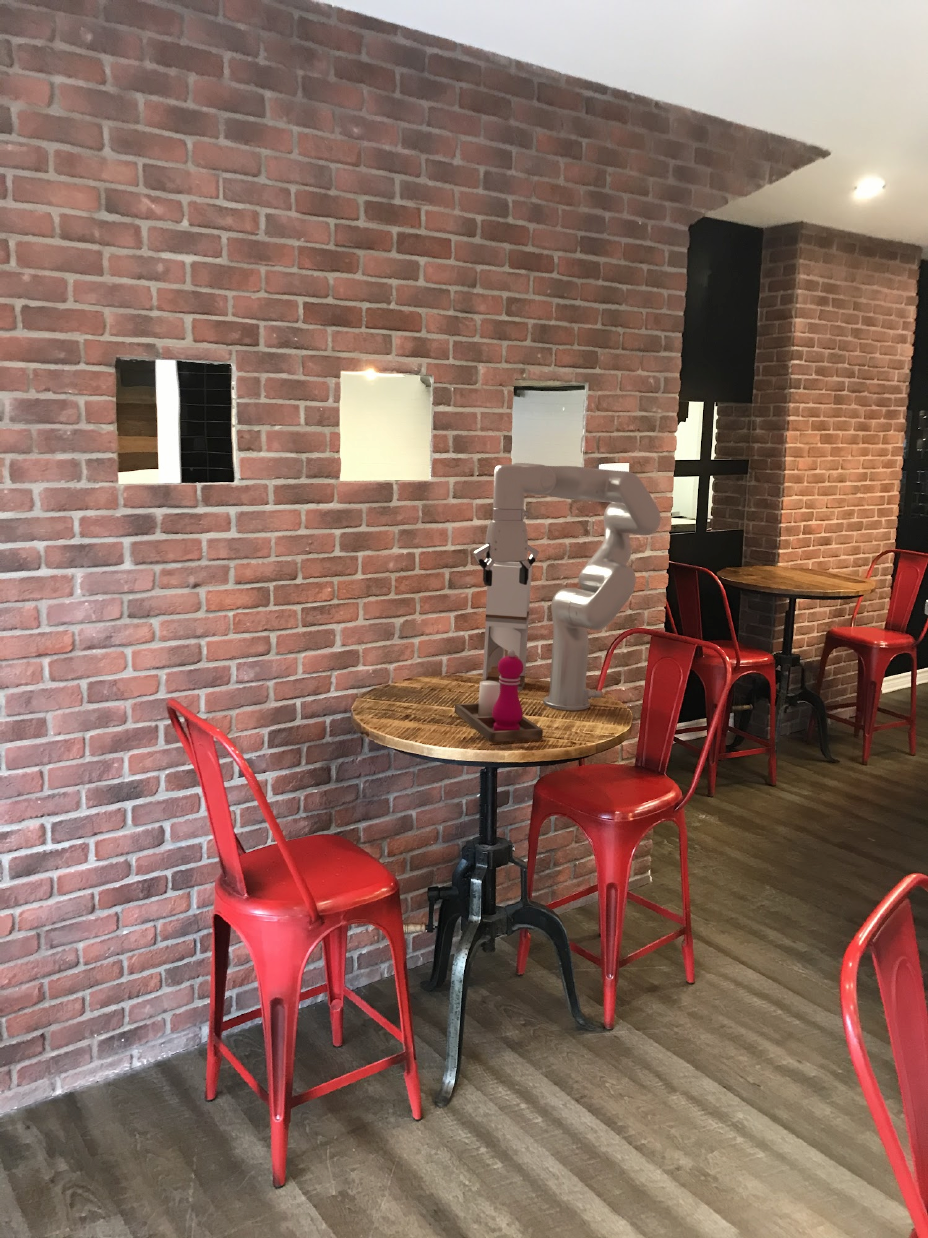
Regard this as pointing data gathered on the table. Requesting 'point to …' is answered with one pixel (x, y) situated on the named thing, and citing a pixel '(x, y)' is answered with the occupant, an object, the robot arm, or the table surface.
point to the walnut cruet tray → (487, 723)
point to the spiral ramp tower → (506, 619)
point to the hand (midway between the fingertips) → (505, 584)
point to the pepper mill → (508, 694)
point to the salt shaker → (487, 697)
